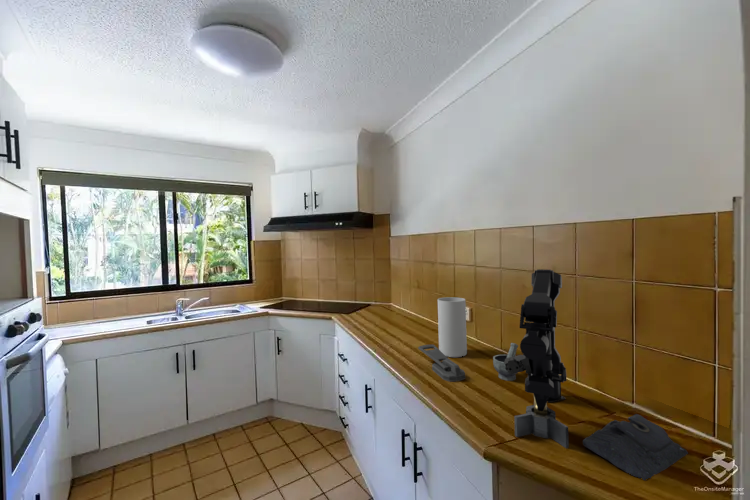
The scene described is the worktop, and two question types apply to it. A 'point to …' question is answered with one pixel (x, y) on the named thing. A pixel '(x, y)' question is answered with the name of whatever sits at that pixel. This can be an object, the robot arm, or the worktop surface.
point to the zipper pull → (443, 364)
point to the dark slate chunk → (635, 446)
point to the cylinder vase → (452, 326)
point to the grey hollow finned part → (541, 426)
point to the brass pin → (542, 413)
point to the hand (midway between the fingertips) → (540, 407)
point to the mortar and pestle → (500, 365)
